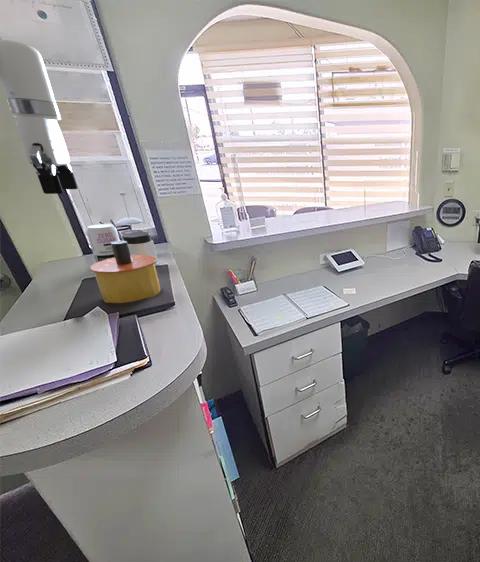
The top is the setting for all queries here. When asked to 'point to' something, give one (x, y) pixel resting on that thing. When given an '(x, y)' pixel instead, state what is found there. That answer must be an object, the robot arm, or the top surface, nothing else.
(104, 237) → the supplement can
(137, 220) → the french press
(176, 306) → the top surface
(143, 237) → the jar
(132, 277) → the tin
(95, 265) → the lid
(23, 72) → the robot arm
